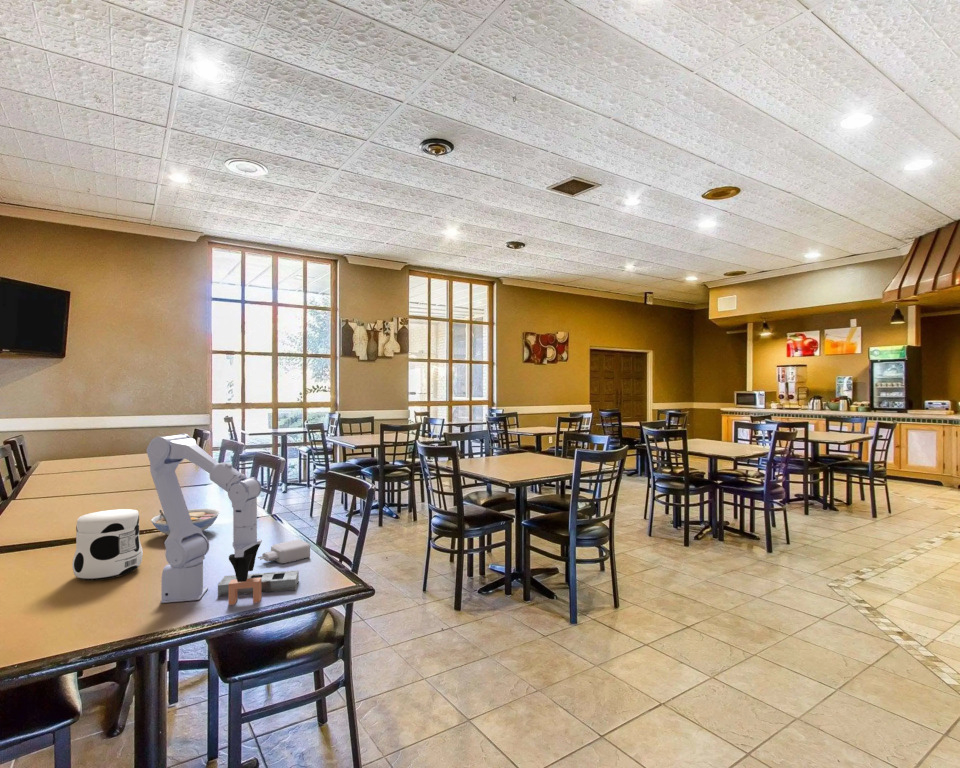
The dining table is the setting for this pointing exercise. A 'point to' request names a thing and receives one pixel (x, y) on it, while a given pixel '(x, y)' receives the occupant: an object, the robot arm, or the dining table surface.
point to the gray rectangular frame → (263, 582)
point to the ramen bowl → (198, 518)
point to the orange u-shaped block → (250, 583)
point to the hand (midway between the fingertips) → (245, 575)
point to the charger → (288, 551)
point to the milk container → (107, 544)
